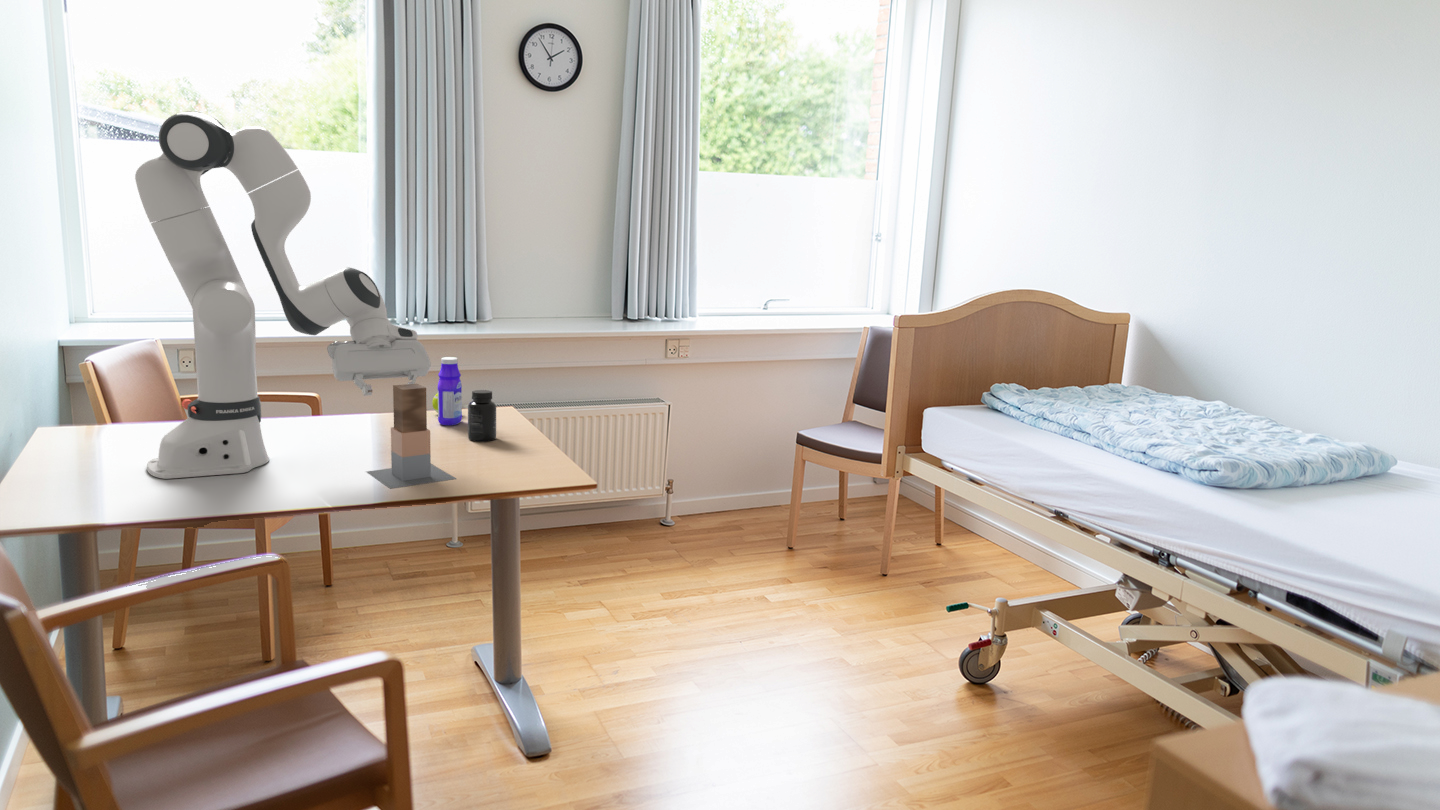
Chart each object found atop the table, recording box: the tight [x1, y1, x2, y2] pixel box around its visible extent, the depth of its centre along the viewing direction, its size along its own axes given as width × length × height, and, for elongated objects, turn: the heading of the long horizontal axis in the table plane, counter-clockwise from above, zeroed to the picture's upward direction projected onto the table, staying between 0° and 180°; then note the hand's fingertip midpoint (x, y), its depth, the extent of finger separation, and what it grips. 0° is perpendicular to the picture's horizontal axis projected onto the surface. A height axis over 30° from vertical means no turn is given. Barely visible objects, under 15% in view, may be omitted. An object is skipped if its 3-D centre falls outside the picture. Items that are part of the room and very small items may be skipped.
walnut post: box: [392, 383, 428, 433], centre depth 189 cm, size 5×5×9 cm
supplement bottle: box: [467, 389, 497, 443], centre depth 225 cm, size 7×7×12 cm
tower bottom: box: [390, 450, 432, 481], centre depth 192 cm, size 6×6×5 cm
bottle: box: [437, 356, 463, 426], centre depth 239 cm, size 7×6×17 cm
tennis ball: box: [432, 392, 438, 414], centre depth 250 cm, size 7×7×7 cm
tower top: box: [390, 426, 431, 457], centre depth 191 cm, size 6×6×5 cm
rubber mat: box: [366, 463, 457, 490], centre depth 192 cm, size 14×14×1 cm
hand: (390, 392), depth 196 cm, fingers open, 8 cm apart
